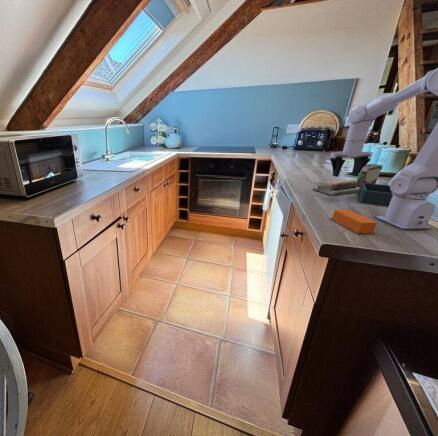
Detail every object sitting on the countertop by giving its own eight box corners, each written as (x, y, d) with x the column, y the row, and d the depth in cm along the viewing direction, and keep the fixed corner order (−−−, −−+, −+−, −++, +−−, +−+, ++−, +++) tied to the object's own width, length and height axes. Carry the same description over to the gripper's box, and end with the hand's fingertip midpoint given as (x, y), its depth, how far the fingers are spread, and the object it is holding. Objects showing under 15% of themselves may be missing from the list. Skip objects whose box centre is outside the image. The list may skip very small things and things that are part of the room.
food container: (362, 182, 124) (368, 163, 120) (376, 185, 119) (383, 165, 115) (346, 185, 120) (353, 165, 116) (361, 188, 115) (368, 167, 111)
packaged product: (335, 185, 103) (314, 180, 112) (332, 196, 105) (312, 190, 114) (365, 181, 108) (343, 176, 117) (362, 191, 110) (340, 186, 119)
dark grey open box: (401, 207, 91) (406, 195, 89) (360, 202, 97) (365, 190, 95) (393, 197, 102) (397, 186, 100) (357, 193, 108) (361, 182, 106)
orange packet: (373, 233, 72) (377, 222, 71) (357, 233, 72) (361, 222, 71) (345, 219, 82) (348, 209, 81) (331, 219, 82) (334, 209, 81)
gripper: (365, 139, 96) (355, 173, 101) (328, 140, 96) (320, 174, 101) (381, 140, 89) (369, 177, 94) (342, 141, 89) (332, 178, 94)
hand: (344, 176), depth 97 cm, fingers open, 7 cm apart
